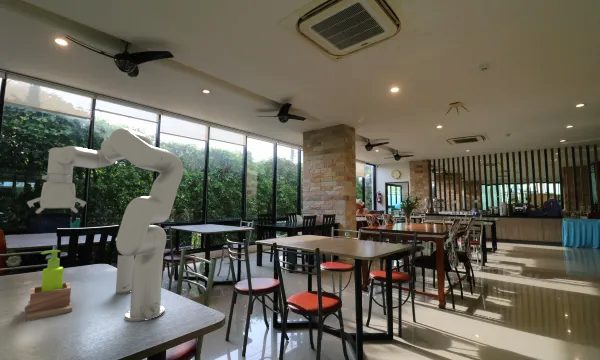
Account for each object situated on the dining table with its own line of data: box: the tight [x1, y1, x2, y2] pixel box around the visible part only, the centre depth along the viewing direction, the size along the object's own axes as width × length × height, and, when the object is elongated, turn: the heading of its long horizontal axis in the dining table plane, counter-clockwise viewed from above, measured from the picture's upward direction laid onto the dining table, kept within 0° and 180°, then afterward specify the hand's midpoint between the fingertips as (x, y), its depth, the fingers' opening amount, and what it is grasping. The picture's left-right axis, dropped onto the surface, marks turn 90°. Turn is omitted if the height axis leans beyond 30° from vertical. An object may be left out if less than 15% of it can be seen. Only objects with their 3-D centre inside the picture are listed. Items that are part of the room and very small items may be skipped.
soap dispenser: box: [40, 249, 64, 292], centre depth 105 cm, size 6×7×20 cm
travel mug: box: [115, 250, 135, 295], centre depth 125 cm, size 6×7×20 cm
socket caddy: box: [25, 281, 73, 322], centre depth 105 cm, size 20×12×8 cm, turn 43°
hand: (56, 223), depth 107 cm, fingers open, 9 cm apart
